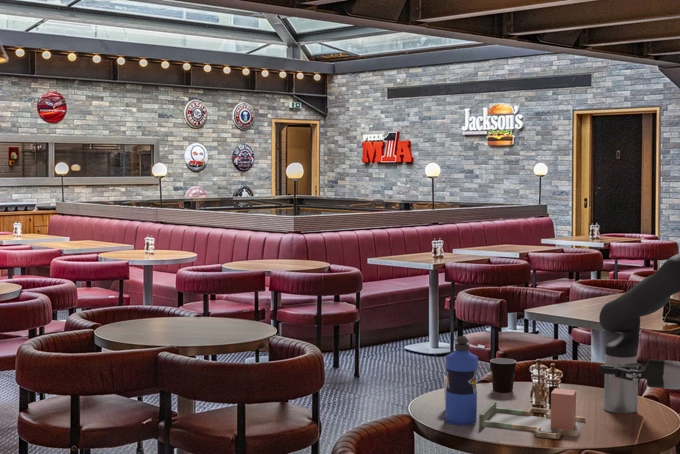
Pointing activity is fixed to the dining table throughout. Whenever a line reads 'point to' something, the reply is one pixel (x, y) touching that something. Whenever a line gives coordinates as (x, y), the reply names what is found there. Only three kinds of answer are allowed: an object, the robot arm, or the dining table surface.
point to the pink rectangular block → (563, 409)
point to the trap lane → (525, 421)
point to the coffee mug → (503, 374)
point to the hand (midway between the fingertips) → (599, 369)
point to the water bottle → (461, 385)
